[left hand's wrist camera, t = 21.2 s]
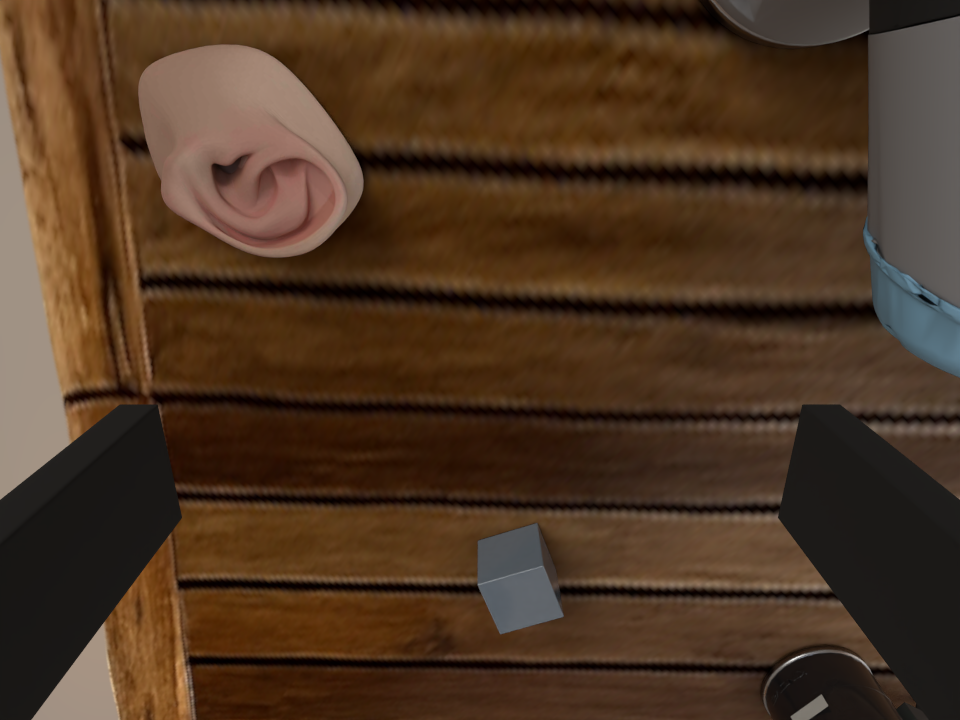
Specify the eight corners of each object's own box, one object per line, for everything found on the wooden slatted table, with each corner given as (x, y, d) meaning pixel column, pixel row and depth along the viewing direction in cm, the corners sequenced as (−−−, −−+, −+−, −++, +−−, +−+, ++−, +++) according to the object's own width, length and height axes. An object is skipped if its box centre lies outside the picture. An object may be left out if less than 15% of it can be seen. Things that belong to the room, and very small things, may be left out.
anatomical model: (62, 92, 33) (239, -22, 31) (104, 94, 36) (265, -7, 34) (211, 305, 37) (374, 217, 35) (235, 288, 41) (384, 208, 39)
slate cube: (537, 522, 48) (543, 565, 43) (556, 570, 50) (564, 617, 45) (477, 540, 48) (477, 585, 44) (498, 587, 50) (500, 634, 46)
